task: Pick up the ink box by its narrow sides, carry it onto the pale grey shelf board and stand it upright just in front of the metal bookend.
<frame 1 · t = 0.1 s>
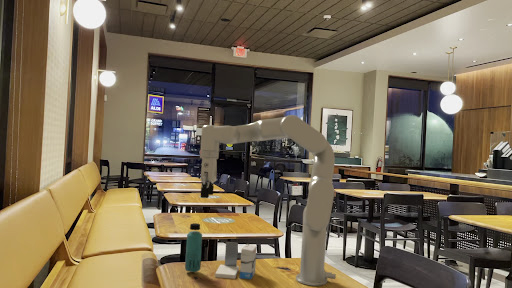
hand: (207, 196, 163), 31 cm above the table, tool pointing down, fingers open, 9 cm apart
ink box: (247, 276, 161), on the table
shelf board: (227, 273, 162), on the table
beverage bottle: (192, 273, 160), on the table
bookend: (230, 265, 167), resting on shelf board
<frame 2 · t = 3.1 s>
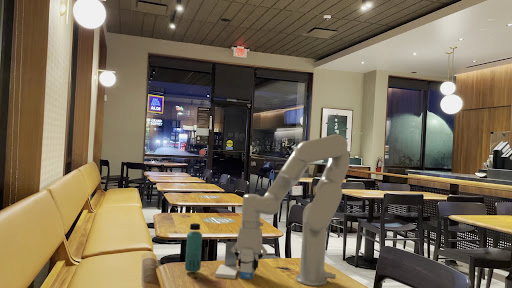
hand: (247, 268, 161), 3 cm above the table, tool pointing down, fingers closed on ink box, 5 cm apart
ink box: (247, 276, 161), on the table, touching gripper
everything else where it was.
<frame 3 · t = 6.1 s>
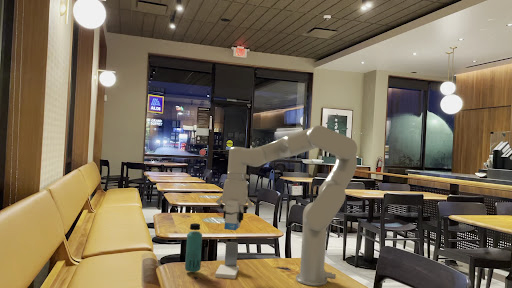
hand: (233, 220, 161), 22 cm above the table, tool pointing down, fingers closed on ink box, 5 cm apart
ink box: (232, 228, 161), point 19 cm above the table, touching gripper
everything else where it was.
when the fingers open (6 cm above the table, at t = 8.7 s): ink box drops 1 cm, resting on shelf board.
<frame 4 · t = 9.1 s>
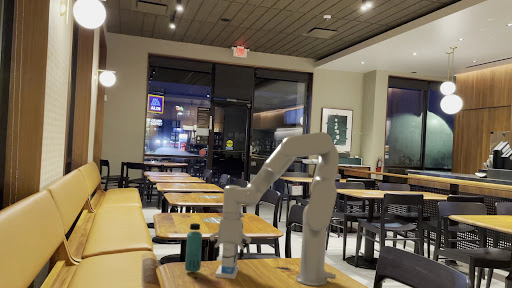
hand: (229, 257, 161), 7 cm above the table, tool pointing down, fingers open, 9 cm apart
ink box: (229, 270, 161), point 1 cm above the table, touching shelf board
everything else where it was.
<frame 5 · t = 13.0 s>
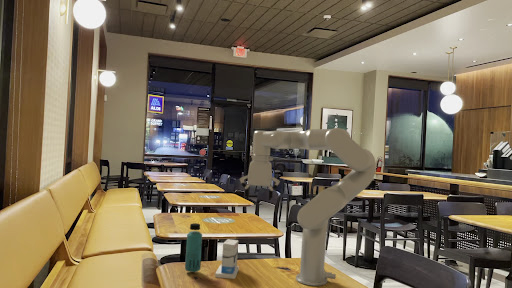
hand: (258, 199, 169), 30 cm above the table, tool pointing down, fingers open, 9 cm apart
nothing on the table moved.
at the end: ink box 0.5 cm from the target spot, point 1.3 cm above the table; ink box tilted 0°; the gripper is holding nothing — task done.
